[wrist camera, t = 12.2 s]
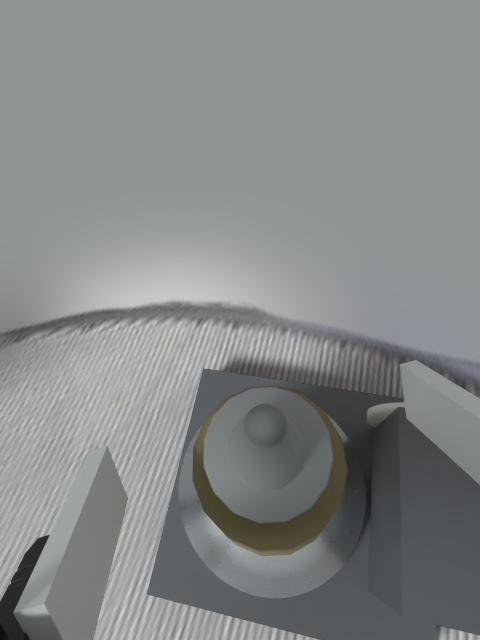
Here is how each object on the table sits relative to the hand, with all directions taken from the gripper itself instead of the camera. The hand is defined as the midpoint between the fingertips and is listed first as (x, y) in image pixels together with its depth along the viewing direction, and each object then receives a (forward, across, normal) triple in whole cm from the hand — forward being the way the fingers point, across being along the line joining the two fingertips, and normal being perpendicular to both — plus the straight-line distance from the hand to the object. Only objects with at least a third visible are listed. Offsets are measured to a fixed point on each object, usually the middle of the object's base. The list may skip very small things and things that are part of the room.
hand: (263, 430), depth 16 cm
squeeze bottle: (+8, 0, -9) cm, 12 cm away
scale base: (+10, +2, -13) cm, 16 cm away
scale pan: (+8, 0, -10) cm, 13 cm away
